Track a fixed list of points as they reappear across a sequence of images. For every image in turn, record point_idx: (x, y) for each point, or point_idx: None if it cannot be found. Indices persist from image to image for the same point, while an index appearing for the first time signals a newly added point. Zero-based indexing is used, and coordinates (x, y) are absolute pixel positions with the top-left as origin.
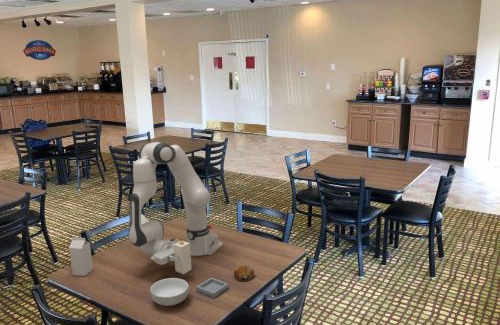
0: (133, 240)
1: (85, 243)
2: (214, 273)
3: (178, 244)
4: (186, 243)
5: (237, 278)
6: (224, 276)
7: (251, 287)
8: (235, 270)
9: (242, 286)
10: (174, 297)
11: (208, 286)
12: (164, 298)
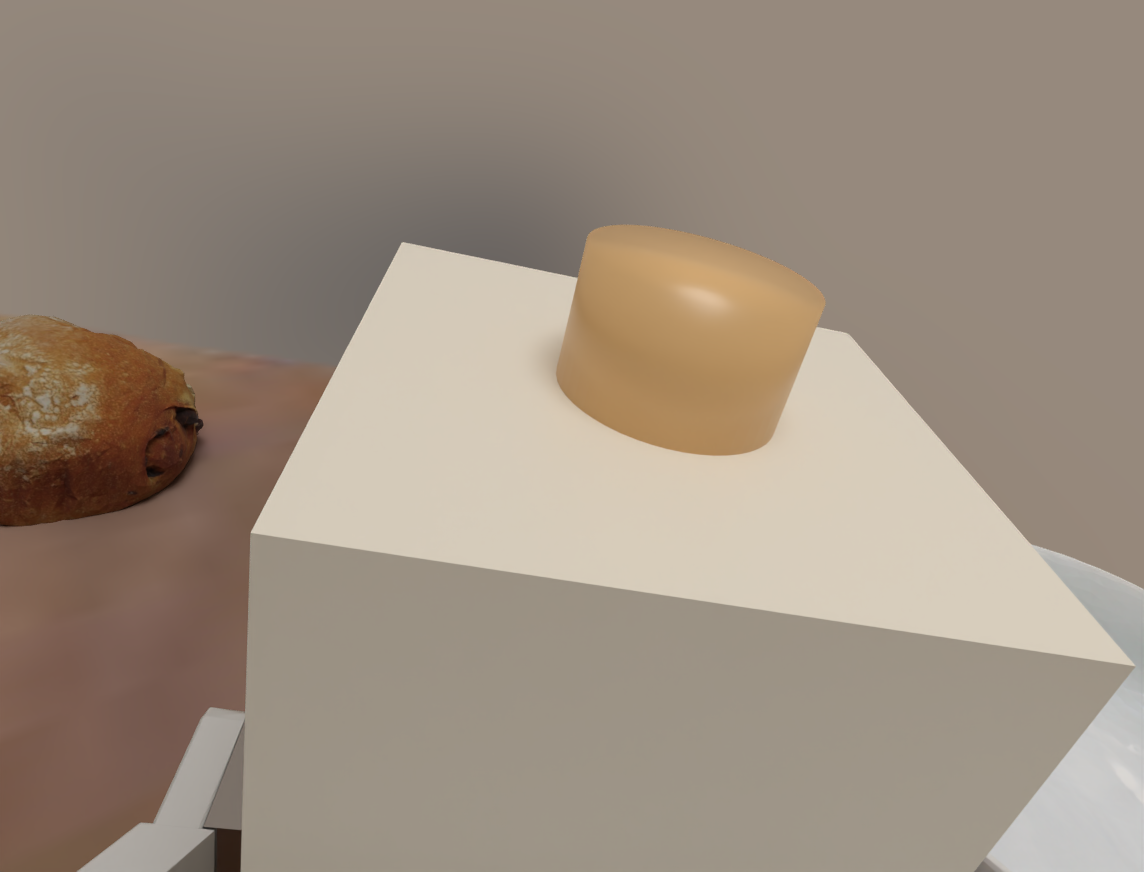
0: None
1: None
2: (14, 755)
3: (827, 467)
4: (497, 294)
5: (187, 451)
6: (104, 603)
7: (280, 385)
8: (108, 418)
9: (290, 427)
10: (1074, 573)
11: None
12: None
